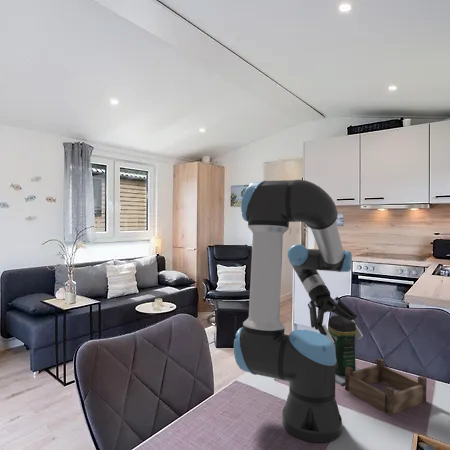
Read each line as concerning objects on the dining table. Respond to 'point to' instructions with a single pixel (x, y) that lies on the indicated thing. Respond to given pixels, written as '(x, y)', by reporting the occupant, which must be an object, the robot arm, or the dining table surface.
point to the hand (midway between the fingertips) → (346, 341)
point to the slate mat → (341, 378)
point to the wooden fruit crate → (388, 400)
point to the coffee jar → (343, 342)
